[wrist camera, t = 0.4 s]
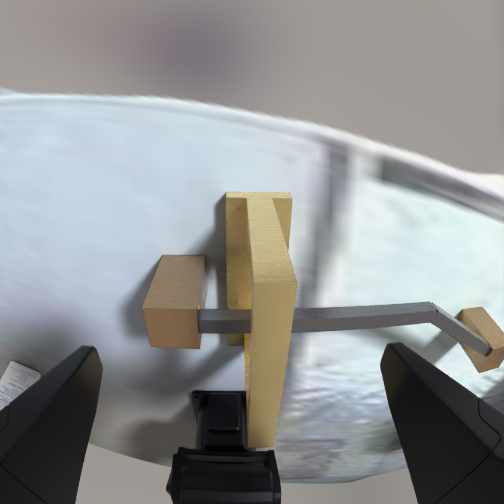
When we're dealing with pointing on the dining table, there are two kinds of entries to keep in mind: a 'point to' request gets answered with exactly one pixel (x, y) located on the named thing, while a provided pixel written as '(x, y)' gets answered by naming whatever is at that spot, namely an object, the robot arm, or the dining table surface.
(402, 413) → the robot arm
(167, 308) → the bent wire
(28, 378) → the medicine box
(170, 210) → the dining table surface
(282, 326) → the wooden frame
